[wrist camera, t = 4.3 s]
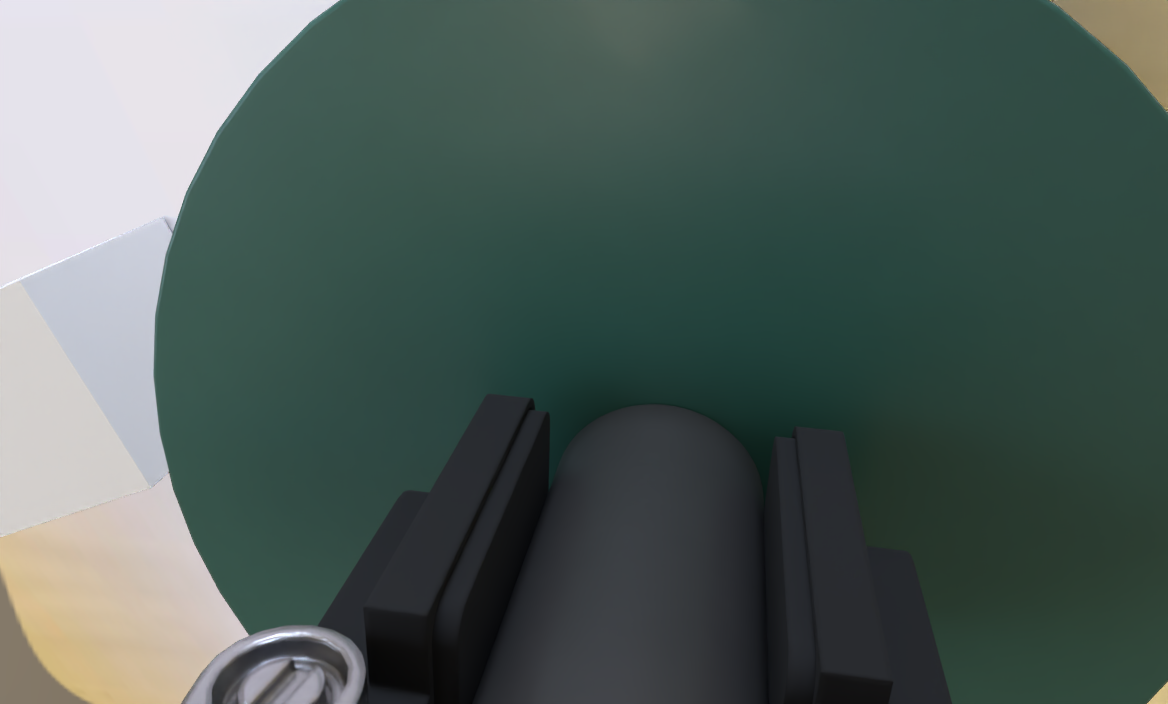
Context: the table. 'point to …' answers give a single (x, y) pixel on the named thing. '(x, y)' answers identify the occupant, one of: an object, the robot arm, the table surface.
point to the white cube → (80, 380)
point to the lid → (692, 323)
